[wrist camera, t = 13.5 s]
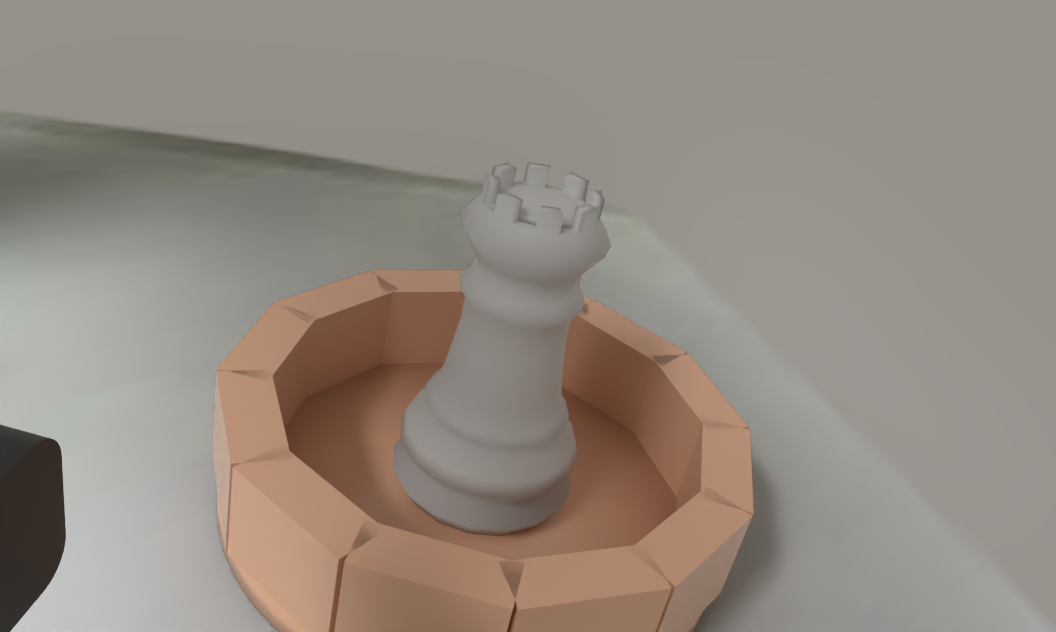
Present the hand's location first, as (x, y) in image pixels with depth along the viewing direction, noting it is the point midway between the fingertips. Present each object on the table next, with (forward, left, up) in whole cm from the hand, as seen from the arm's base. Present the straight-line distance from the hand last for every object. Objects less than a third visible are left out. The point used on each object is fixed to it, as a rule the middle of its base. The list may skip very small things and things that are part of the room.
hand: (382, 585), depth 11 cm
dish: (0, +11, -8) cm, 14 cm away
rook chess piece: (0, +11, -7) cm, 13 cm away
